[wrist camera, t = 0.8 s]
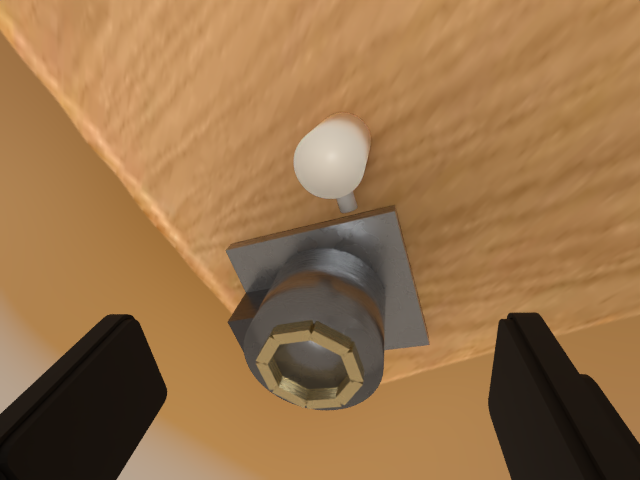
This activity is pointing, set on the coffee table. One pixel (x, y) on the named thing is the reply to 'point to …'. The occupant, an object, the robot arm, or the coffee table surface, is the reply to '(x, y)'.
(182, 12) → the coffee table surface
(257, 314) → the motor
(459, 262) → the coffee table surface
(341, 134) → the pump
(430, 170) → the coffee table surface
